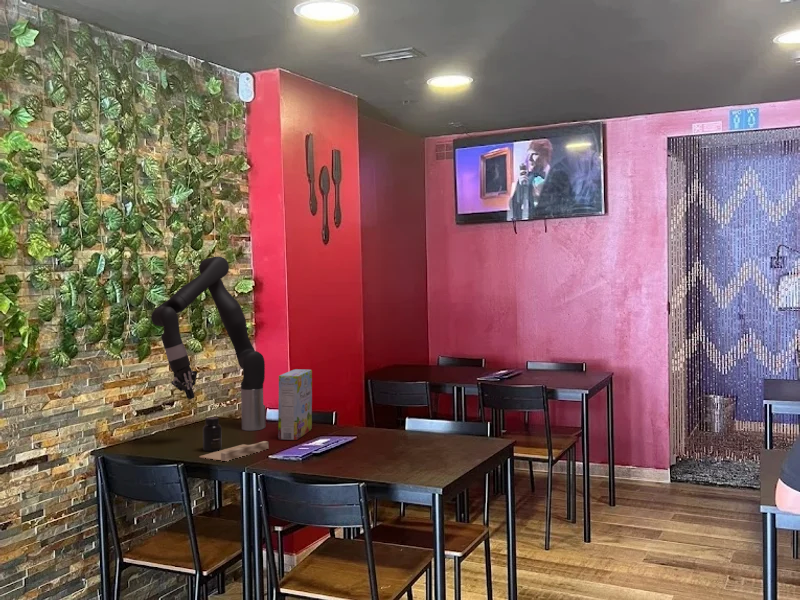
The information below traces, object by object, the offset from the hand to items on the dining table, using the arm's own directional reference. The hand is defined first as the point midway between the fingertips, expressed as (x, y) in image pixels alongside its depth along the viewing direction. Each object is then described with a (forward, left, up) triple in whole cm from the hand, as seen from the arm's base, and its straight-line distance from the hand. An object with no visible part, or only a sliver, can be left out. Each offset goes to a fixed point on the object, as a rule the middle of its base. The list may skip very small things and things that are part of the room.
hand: (191, 398), depth 303 cm
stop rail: (+5, +34, -17) cm, 38 cm away
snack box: (-31, +27, -18) cm, 44 cm away
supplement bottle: (+5, +17, -18) cm, 25 cm away
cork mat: (+5, +27, -17) cm, 32 cm away
